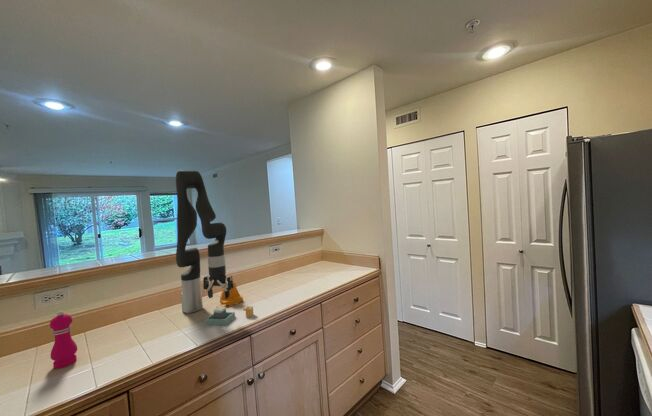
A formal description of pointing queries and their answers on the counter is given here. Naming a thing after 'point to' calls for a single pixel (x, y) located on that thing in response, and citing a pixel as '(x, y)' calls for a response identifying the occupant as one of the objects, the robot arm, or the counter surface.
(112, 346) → the counter surface
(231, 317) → the tray
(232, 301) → the bracket
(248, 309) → the clip right
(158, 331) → the counter surface
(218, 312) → the block
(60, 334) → the pepper mill
